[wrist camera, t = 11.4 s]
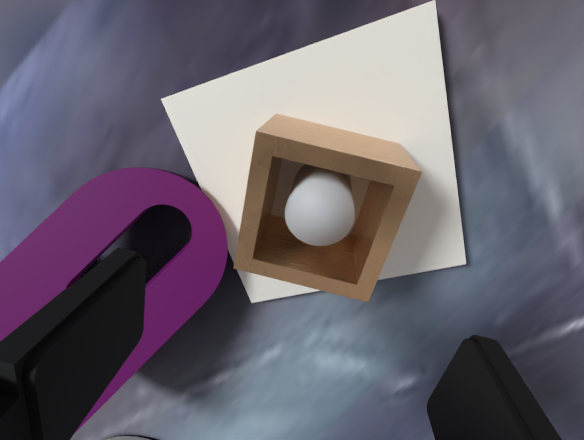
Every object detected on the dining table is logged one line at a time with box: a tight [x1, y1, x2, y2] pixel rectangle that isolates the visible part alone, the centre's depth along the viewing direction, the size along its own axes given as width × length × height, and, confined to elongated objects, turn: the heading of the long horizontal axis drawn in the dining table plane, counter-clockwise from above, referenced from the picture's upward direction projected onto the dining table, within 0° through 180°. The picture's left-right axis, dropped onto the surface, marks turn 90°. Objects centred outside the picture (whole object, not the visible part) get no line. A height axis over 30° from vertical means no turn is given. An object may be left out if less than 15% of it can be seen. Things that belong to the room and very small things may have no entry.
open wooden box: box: [233, 113, 422, 302], centre depth 16 cm, size 7×7×5 cm
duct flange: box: [161, 0, 466, 303], centre depth 17 cm, size 14×14×5 cm
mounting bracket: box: [0, 168, 228, 431], centre depth 23 cm, size 10×8×18 cm
